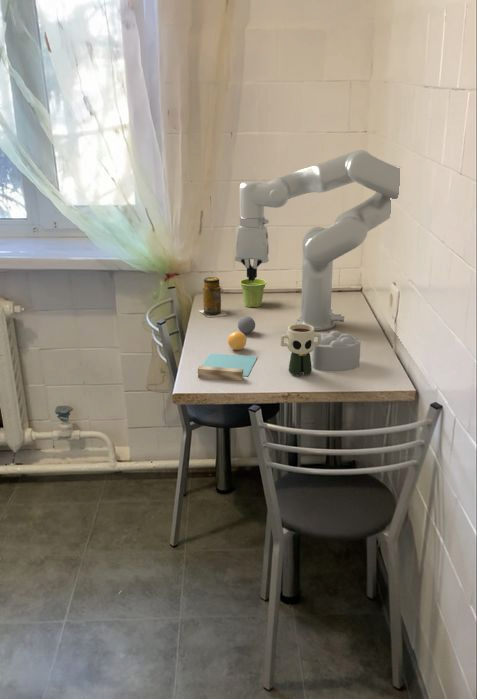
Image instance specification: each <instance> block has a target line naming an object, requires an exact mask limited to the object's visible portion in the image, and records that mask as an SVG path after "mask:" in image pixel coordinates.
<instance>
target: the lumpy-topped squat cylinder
mask: <svg viewBox="0 0 477 699" xmlns="http://www.w3.org/2000/svg"><path fill="white" fill-rule="evenodd" d="M320 334H321V344H320V345H314V349H313V351H312V353H311V354H312V355H311V363H312V369H314V370H316V371H319V372H320V371H321V372H333V373H335V372H340V373H341V372H348V371H353V370H356V369H357V368H359V367H360V360H361V358H360V357H361V340H360V339H359V338H357V337H354V336H352V335H351V334H349V333H341V332H340V331H339V330H331V331H330V332H329V333H324V332H323V333H320ZM317 341H318V337H314V342H317Z"/></svg>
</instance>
